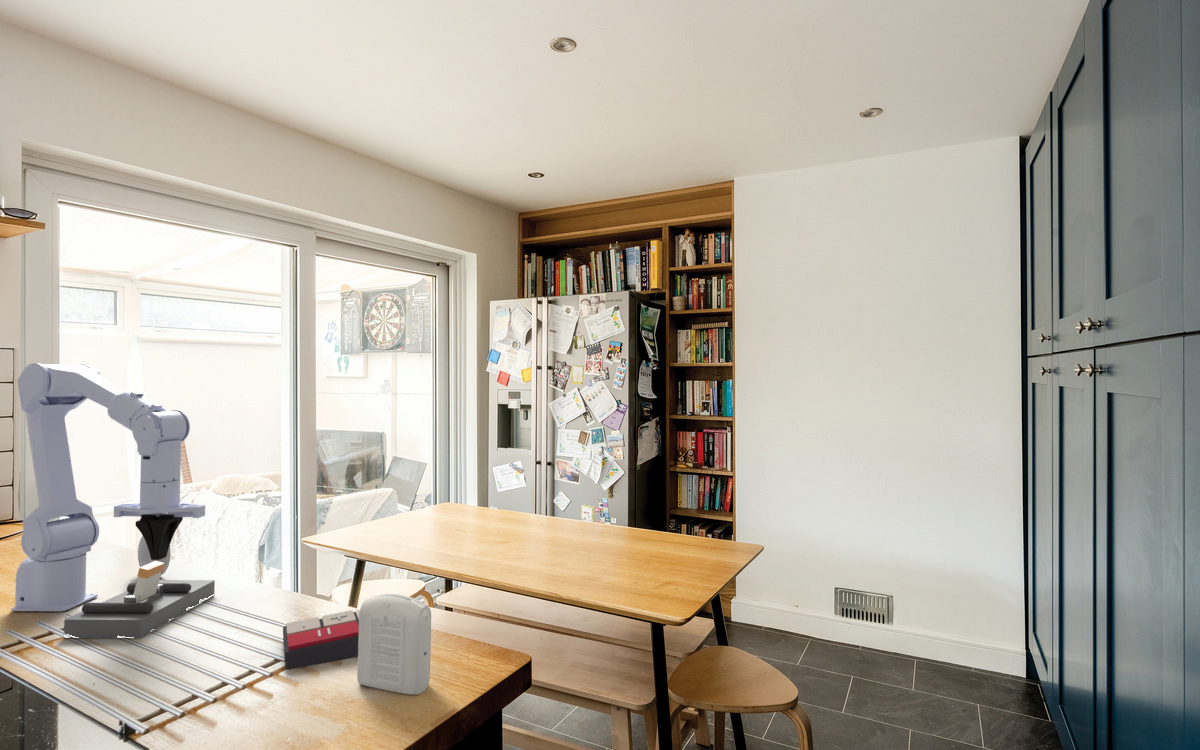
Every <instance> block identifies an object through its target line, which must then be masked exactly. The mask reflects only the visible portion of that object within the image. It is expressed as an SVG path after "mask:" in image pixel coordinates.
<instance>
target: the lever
mask: <svg viewBox="0 0 1200 750" xmlns="http://www.w3.org/2000/svg"><path fill="white" fill-rule="evenodd" d="M163 567H164V563H162V562H158V561H154V562H152V563H149V564H147V565H145V566H142V567H140V566H139V567H138V571H137V572H138V573H137V575H136V576H137V579H136V582H135V583H136V587H135V590H134V594H133V595H140V602H142V601H144V600H146V599H148V598H150V597H152V596H154V595H155V594H156V591H157V587H158V583H159V580H161V579H160V578H161V576H162V575H161V572H162V571H163ZM160 575H161V576H160Z"/></svg>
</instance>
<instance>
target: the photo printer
mask: <svg viewBox="0 0 1200 750" xmlns="http://www.w3.org/2000/svg"><path fill="white" fill-rule="evenodd" d="M359 610H360V612H359V638H358V656H357V675H356V676H357V683H358V684H359V685H363V686H366V687H371V688H376V689H381V690H385V691H389V692H395V693H399V694H404V695H405V694H406V695H415V696H416V695H417V696H418V695H420V694H422V693H424V692H425V691H426V690H427V689H428V687H429V683H430V678H431V677H430V676H431V651H432V650H431V649H432V647H431V646H432V644H431V643H432V610H431V607H430V606H429V605H428V604H426V603H425V602H424V601H421V600H419V599H417V598H414V597H412V596H408V595H404V594H399V593H380V594H375V595H371V596H370V597H368V598H365V599H364V600H363V602H362V603H361V605H360V609H359Z"/></svg>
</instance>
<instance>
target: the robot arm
mask: <svg viewBox="0 0 1200 750" xmlns="http://www.w3.org/2000/svg"><path fill="white" fill-rule="evenodd" d="M16 380H17V387H18V395H19V400H20V401H19V402H20V407H21V411H22V412H25V419H26V424H27V425H26V426H27V432H28V438H29V439H28V440H29V445H30V452H31V459H32V466H33V473H34V478H35V487H36V493H37V500H38V501H37V502H38V506H37V507H36V508H35V509H34V510H32V511H31V513H29V514H28V515H27V516H25V517H24V519H22V525H23V526H22V529H23V530H22V534H21V539H20V543H21V544H20V545H21V549H22V551H23V552H24V554H25V556H27V558H25V559H24V560H23V561H21V563H20V565H19V566H18V568H17V570H16V574H15V602H14V607H11V608H10V611H11V612H65V611H68V610H71V609H73V608H75V607H77V606H79V605H82V604H83V603H84V604H85V603H87V602H89V601H90V600H94V599H95V598H98V597H99V594H98V593H86V591H87V590H86V587H87V585H86V583H87V553H89V552H91V551H92V549H91V548H92V547H93V546H94V545H95V544H96V542H97V541H98V539H99V535H100V526H99V523H98V521H97V519H96V518H95V516H94V514H93V508H92V506H90V505H89V504H87V503H85V502H83V501H81V500H79V498H77V494H76V493H77V492H76V485H75V478H74V471H73V466H72V460H71V459H72V458H71V453H70V444H69V439H68V438H69V437H68V433H67V424H66V419H65V417H66V416H67V415H68V413H69V412H71V411H73V410H75V409H77V408H78V407H79V406H80V405H82V404H83V403H84V402H85V401H86V400H90V401H92V402H94V403H96V404H98V405H100V406H103V407H105V408H106V409H107V415H108V416H109V418H110V419H111V420H113V421H114V422H116V423H118V424H120V425H121V426H123V427H124V428H125V429H128V430H130V431H131V434H132V436H133V438H134V440H135V442H136V446H137V450H136V451H137V453H138V455H139V456H140V479H139V480H140V482H139V485H140V486H139V488H140V490H139V503H121V504H117V505H114V506H113V518H121V517H140V518H139V520H136V521H135V527H136V528H137V529H138V530H139V532H140V533H141V536H143V537H144V539H145V541H146V544H147V547H148V550H149V553H150V557H151V560H160V559H163V558H165V557H166V556H167V553H168V549H169V546H170V547H171V542H172V539H173V538H174V536H175V533H176V531H177V529H178V527H179V526H180V524H181V523H182V522H183V519H184V518H192V519H199V518H202V517H205V516H206V504H196V503H195V504H193V503H186V502H180V501H181V463H182V462H181V461H182V459H181V458H182V442H184V441H185V440H186V439H187V438H188V436H189V434H190V431H191V429H190V428H191V424H190V420H189V419H188V417H187V415H186V414H185V413H184V412H183V411H181V410H180V409H171V410H166V409H165V408H163V406H162V404H159V403H155V402H153V401H151V400H149V399H148V398H146V397H145V396H144V395H145V394H144V393H143V392H141V391H140V390H134V391H133V390H131V391H128V390H127V391H124V392H123V391H121V390H120V389H119V388H117V387H116V386H115V385H113V384H112V383H110V382H109V381H107V380H106V379H105V378H103V377H102V376H101V373H100V370H99V369H97V368H94V367H92V366H91V365H89V364H86V363H85V364H53V363H52V364H51V363H50V364H49V363H39V362H32V363H29V364H28V365H26V366H25V367H24V369H23V370H22V372H21V373H20V374H19V376H18V378H17V379H16ZM62 517H67V518H62ZM57 518H61V519H57ZM52 519H57V520H52ZM51 520H52V521H51Z"/></svg>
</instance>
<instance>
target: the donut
mask: <svg viewBox="0 0 1200 750" xmlns="http://www.w3.org/2000/svg"><path fill="white" fill-rule="evenodd" d="M171 550H172V549H171V545H170V546H169V549H168V553H167V556H166V557H165V558H163V559H160V560H151V557H150V553H149V550H148V547H147V544H146V541H145V539H144V537H143V535H141V537H140V539H139V543H138V548H137V560H138V565H139V568H140V567H142V566H145V565H147V564H149V563H152V562H154V561H158V562H162V563H164V567H163V571H162V572H161V575H160V577H161V576H163V574H165V573H166V571H167V570H168V569H169V566H170V562H171V556H172V555H171V552H172V551H171Z"/></svg>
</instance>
